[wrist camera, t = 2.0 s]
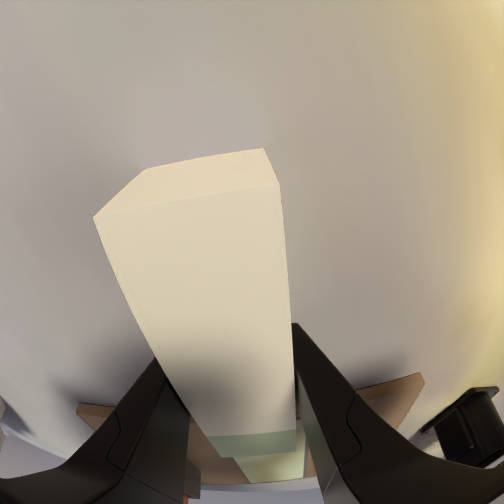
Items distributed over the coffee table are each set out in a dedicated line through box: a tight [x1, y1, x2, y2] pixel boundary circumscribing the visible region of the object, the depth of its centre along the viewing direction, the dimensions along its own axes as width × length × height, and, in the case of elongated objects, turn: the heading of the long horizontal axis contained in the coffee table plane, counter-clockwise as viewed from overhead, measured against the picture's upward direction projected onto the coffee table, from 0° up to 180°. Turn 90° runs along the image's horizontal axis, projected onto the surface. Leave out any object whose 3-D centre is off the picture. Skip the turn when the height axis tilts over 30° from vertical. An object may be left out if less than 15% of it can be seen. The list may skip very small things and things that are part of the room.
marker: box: [93, 148, 297, 457], centre depth 9 cm, size 11×3×3 cm, turn 8°
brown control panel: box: [76, 373, 425, 499], centre depth 16 cm, size 20×15×3 cm
